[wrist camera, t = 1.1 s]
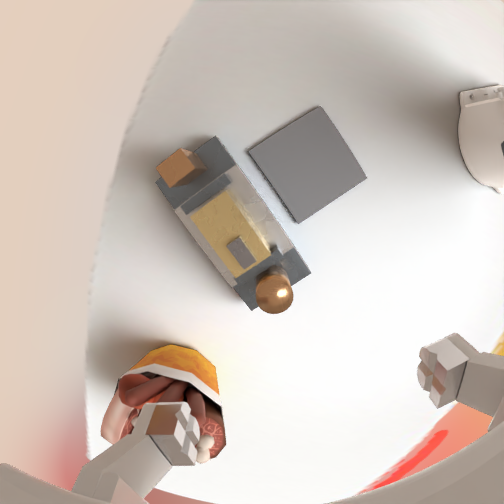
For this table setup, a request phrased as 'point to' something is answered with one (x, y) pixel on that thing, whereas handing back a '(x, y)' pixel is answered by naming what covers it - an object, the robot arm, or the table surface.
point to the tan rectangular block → (231, 233)
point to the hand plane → (232, 177)
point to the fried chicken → (169, 396)
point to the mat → (308, 164)
